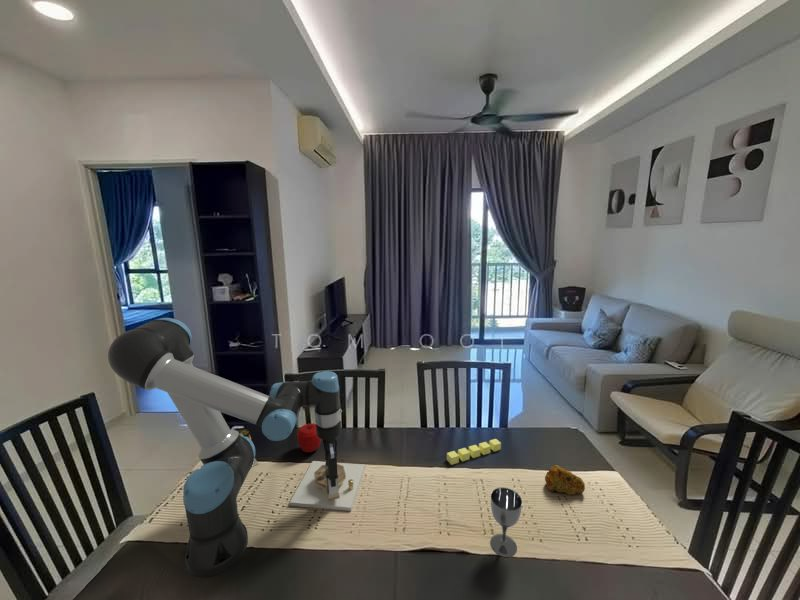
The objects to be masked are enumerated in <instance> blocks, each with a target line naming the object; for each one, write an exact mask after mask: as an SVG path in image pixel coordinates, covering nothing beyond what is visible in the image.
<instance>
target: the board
mask: <svg viewBox="0 0 800 600" xmlns="http://www.w3.org/2000/svg"><path fill="white" fill-rule="evenodd" d="M337 464H339V465H342V466H344V470H345V475H346V479H345V480H344V481H343V482H342V483H341V485H340V486H339V487H338V489H339V496H340V498H338V499H334V500H330V501H328V495H327V490H324V489H322V488H319V487H317V486H316V485H315V477H314V472H315V471H317V470H318V469H319V468H320V467H321V466H322V465H325V467H327V465H326V461H318V460H312V461H311V463H310V465H309V467H308V469H307V471H306V472H305V474H304V476H303V478H302V479H301V482H300V483H299V485H298V487H297V488H296V490H295V492H294V493H293V495H292V498H291V499H290V501H289V506H291V507H303V508H313V509H314V508H315V509H325V510H327V509H328V510H337V511H338V510H339V511H348V512H352V509H353V507H354V503H355V500H356V498H357V494H358V491H359V489H360V488H359V487H360V485H361V482H362V479H363V475H364V473H365V470H366V464H363V463H362V464H360V463H349V462H337ZM324 478H326V475H325V476H324ZM350 479H352V480H353V490H349V485H348V481H349V480H350Z"/></svg>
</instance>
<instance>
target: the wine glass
mask: <svg viewBox="0 0 800 600" xmlns="http://www.w3.org/2000/svg"><path fill="white" fill-rule="evenodd" d="M522 506H523V500H522V498H521V496H520V494H519V493H518V492H517V491H515V490H514V489H511V488H507V487H497V488H494V489H493V490H492V491H491V493H490V509H491V513H492V517H493V518H494V520H495V522H497V524H499V526H501V530H502V531H501V532H502V533H496V534H494V535H493V536H492V537H490V543H489V544H490V547H491V549H492V550H493V552H495V554H497V555H498V556H500V557H502V558H503V557H504V558H511V557H514V556H515V555H516V554H517V552H518V545H517V543H516V541H515V540H514V539H513V538H512V537H511V536H509V535H507V530H508V529H509V528H511V527H514V526H515V525H516V524H517V523H518V522H519V519H520V517H521V513H522V508H523V507H522Z"/></svg>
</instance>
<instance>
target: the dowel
mask: <svg viewBox="0 0 800 600" xmlns="http://www.w3.org/2000/svg"><path fill="white" fill-rule="evenodd" d="M348 485H349V490H353V480H352V479H350V480H349V481H348Z"/></svg>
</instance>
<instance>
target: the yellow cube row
mask: <svg viewBox="0 0 800 600" xmlns="http://www.w3.org/2000/svg"><path fill="white" fill-rule="evenodd" d="M491 450H492V451H493V452H499V451H500V450H501V451H502V442H501V441H499V440H498V439H497V438H493V439H490V440H489V441H488V442H487V441H483V442H480V443H478V445H477V444H473V445H469V446H468V449H467V448H466V447H462V448H460V449H458V450H457V452H456V451H455V450H452V451H449V452H446V461H447V462H448V463H449V464H450V465H451V466H452V465H455V464H459V463H460V460H461V462H465V461H468V460H470V457H471V458H473V459H475V458H478V457H481V454H482V455H483V456H485V455H488V454H491Z"/></svg>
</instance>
